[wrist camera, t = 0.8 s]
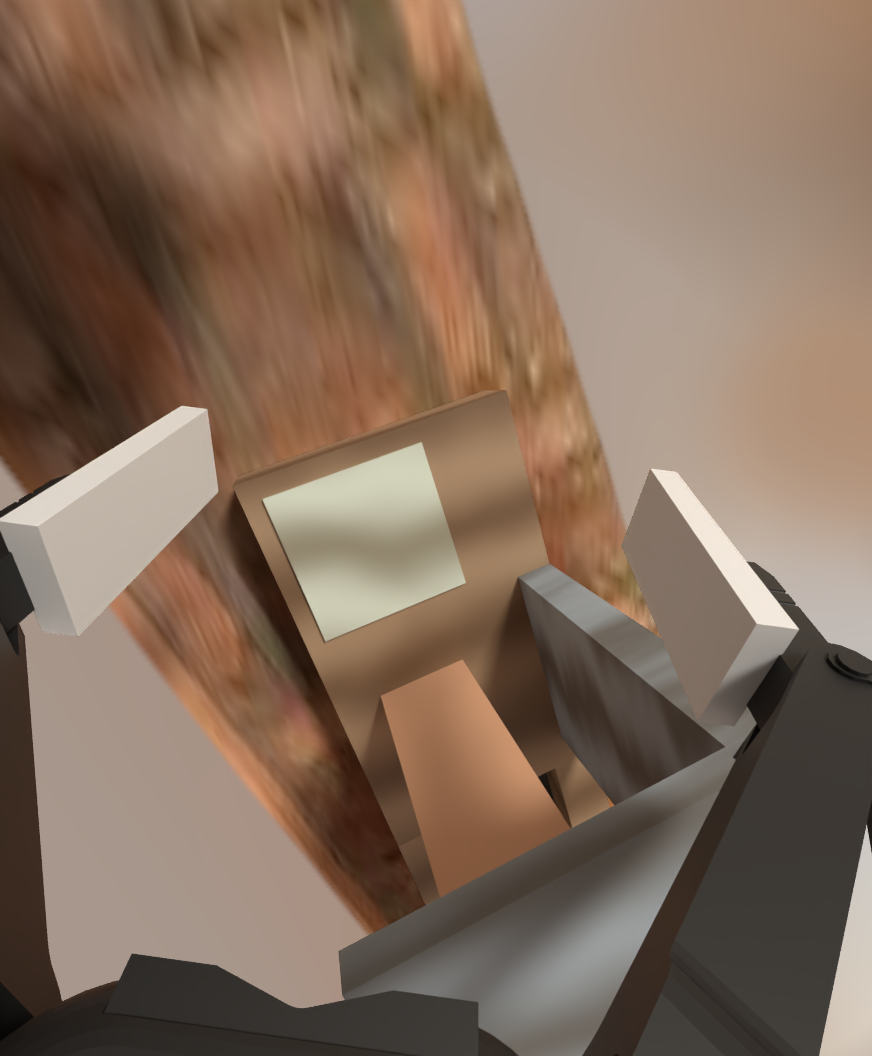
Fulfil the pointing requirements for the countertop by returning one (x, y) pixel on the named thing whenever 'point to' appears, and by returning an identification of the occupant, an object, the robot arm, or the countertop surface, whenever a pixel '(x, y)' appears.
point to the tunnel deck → (517, 697)
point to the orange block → (466, 778)
